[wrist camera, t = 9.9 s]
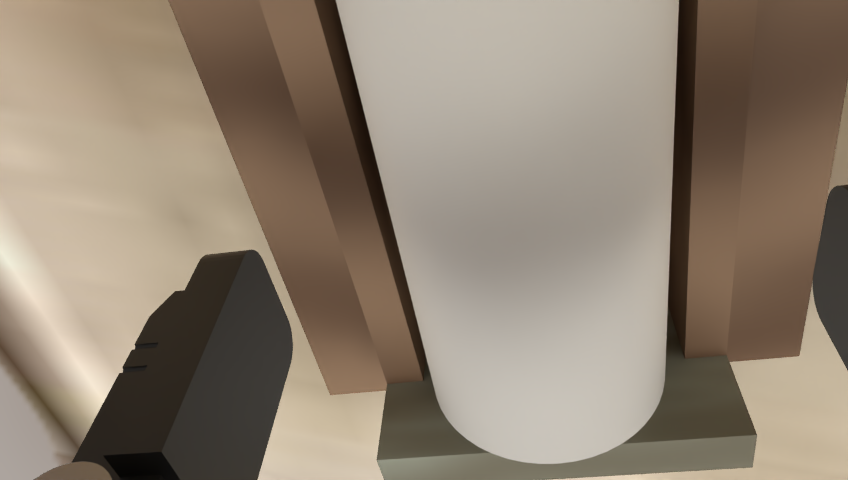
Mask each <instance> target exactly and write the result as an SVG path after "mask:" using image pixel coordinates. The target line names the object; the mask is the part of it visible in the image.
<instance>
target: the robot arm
mask: <svg viewBox="0 0 848 480" xmlns="http://www.w3.org/2000/svg"><path fill="white" fill-rule="evenodd" d="M813 295H814V301H815V305H816V309H817V312H818V315H819V317H820V319H821V321H822V323H823V325H824V327H825V329H826V331H827V333H828V335H829V336H830V338H831V340H832V342H833V344H834V346H835V348H836V349H837V351H838V353H839V355H840V357H841V359H842V361H843V362H844V364H845V366H846V368H847V370H848V185H842V186H836V187H834V188H833V189H832V190H831V192H830V194H829V196H828V199H827V204H826V209H825V214H824V219H823V225H822V230H821V235H820V241H819V246H818V251H817V256H816V262H815V267H814V272H813ZM292 351H293V342H292V332H291V327H290V324H289V321H288V318H287V316H286V314H285V311H284V309H283V306H282V304H281V302H280V299H279V297H278V295H277V292H276V290H275V287H274V285H273V283H272V280H271V278H270V276H269V273H268V271H267V269H266V266H265V264H264V262H263V259H262V258H261V256H260V255H259V253H258V252H256V251H255V250H246V251H237V252H228V253H219V254H210V255H205V256H203V257H202V258H201V259H200V261H199V263H198V265H197V267H196V269H195V271H194V273H193V275H192V277H191V279H190V281H189V283H188V285H187V287H186V289H185V290H184V291H175V292H174V293H173V294H172V295H171V296H170V297H169V298H168V299H167V300H166V301H165V302H164V303H163V304H162V305H161V306H160V307H159V308H158V309H157V310H156V311H155V312H154V313H153V314H152V315H151V316H150V317H149V319H148V321H147V322H146V324H145V326H144V328H143V330H142V332H141V334H140V336H139V337H138V339H137V341H136V343H135V350H132V351H131V352H130V354H129V356H128V358H127V360H126V362H125V364H124V366H123V373H119V375H118V377H117V379H116V381H115V382H114V384H113V386H112V388H111V390H110V392H109V394H108V396H107V397H106V399H105V401H104V403H103V405H102V407H101V409H100V411H99V412H98V414H97V416H96V418H95V420H94V422H93V424H92V426H91V427H90V429H89V431H88V433H87V435H86V437H85V439H84V441H83V442H82V444H81V446H80V448H79V450H78V452H77V454H76V456H75V458H74V459H73V461H72V463H68V464H64V465H61V466H59V467H56V468H53V469H51V470H49V471H47V472H46V473H43V474H42V475H40V476H39V477H37V478H35V479H34V480H257V479H258V475H259V472H260V468H261V465H262V462H263V458H264V455H265V451H266V448H267V444H268V441H269V437H270V434H271V430H272V427H273V423H274V420H275V416H276V413H277V409H278V406H279V402H280V399H281V395H282V392H283V388H284V385H285V381H286V378H287V374H288V371H289V367H290V364H291V359H292Z"/></svg>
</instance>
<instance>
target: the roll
mask: <svg viewBox="0 0 848 480" xmlns="http://www.w3.org/2000/svg"><path fill="white" fill-rule="evenodd" d="M336 4H337V8H338V12H339V16H340V20H341V23H342V27H343V31H344V35H345V39H346V43H347V47H348V51H349V55H350V59H351V63H352V67H353V71H354V75H355V79H356V83H357V87H358V90H359V94H360V98H361V102H362V106H363V110H364V114H365V118H366V122H367V126H368V130H369V134H370V138H371V142H372V146H373V150H374V153H375V157H376V161H377V165H378V169H379V173H380V177H381V181H382V185H383V189H384V193H385V197H386V201H387V205H388V209H389V213H390V217H391V220H392V224H393V228H394V232H395V236H396V240H397V244H398V248H399V252H400V256H401V260H402V264H403V268H404V272H405V276H406V280H407V283H408V287H409V291H410V295H411V299H412V303H413V307H414V311H415V315H416V319H417V323H418V327H419V331H420V335H421V339H422V343H423V347H424V350H425V354H426V358H427V362H428V366H429V370H430V374H431V378H432V382H433V386H434V390H435V394H436V398H437V401H438V403H439V406H440V408H441V410H442V412H443V413H444V415H445V417H446V418H447V420H448V421H449V422H450V424H451V425H452V426H453V427H454V428H455V429H456V430H457V431H458V432H459V433H460V434H461V435H462V436H463V437H465V438H466V439H467V440H469V441H470V442H472V443H473V444H475V445H476V446H478V447H479V448H482V449H484V450H486V451H488V452H490V453H492V454H495V455H498V456H501V457H503V458H506V459H510V460H515V461H520V462H526V463H536V464H559V463H567V462H575V461H579V460H583V459H587V458H591V457H594V456H597V455H599V454H602V453H605V452H607V451H609V450H611V449H613V448H615V447H617V446H619V445H621V444H622V443H624V442H625V441H626V440H628V439H629V438H631V437H632V436H634V435H635V434H636V433H637V432H638V431H639V430H640V429H641V428H642V427H643V426H644V425H645V424H646V423H647V421H648V420H649V419H650V418H651V416H652V415H653V413H654V412H655V410H656V408H657V406H658V404H659V402H660V399H661V396H662V393H663V389H664V383H665V366H666V339H667V312H668V284H669V257H670V230H671V203H672V176H673V148H674V121H675V94H676V67H677V39H678V12H679V0H336Z"/></svg>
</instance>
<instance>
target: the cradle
mask: <svg viewBox="0 0 848 480" xmlns="http://www.w3.org/2000/svg"><path fill="white" fill-rule="evenodd" d="M168 1H169V3H170V5H171V8H172V10H173V13H174V15H175V18H176V20H177V23H178V25H179V27H180V30H181V32H182V35H183V37H184V40H185V42H186V44H187V47H188V49H189V52H190V54H191V57H192V59H193V62H194V64H195V66H196V69H197V71H198V74H199V76H200V79H201V81H202V83H203V86H204V88H205V91H206V93H207V96H208V98H209V101H210V103H211V105H212V108H213V110H214V113H215V115H216V118H217V120H218V122H219V125H220V127H221V130H222V132H223V135H224V137H225V139H226V142H227V144H228V147H229V149H230V152H231V154H232V157H233V159H234V161H235V164H236V166H237V169H238V171H239V174H240V176H241V178H242V181H243V183H244V186H245V188H246V191H247V193H248V196H249V198H250V200H251V203H252V205H253V208H254V210H255V213H256V215H257V217H258V220H259V222H260V225H261V227H262V230H263V232H264V235H265V237H266V239H267V242H268V244H269V247H270V249H271V252H272V254H273V256H274V259H275V261H276V264H277V266H278V269H279V271H280V274H281V276H282V278H283V281H284V283H285V286H286V288H287V291H288V293H289V295H290V298H291V300H292V303H293V305H294V308H295V310H296V313H297V315H298V317H299V320H300V322H301V325H302V327H303V330H304V332H305V334H306V337H307V339H308V342H309V344H310V347H311V349H312V351H313V354H314V356H315V359H316V361H317V364H318V366H319V369H320V371H321V373H322V376H323V378H324V381H325V383H326V386H327V388H328V390H329V393H330V395H336V394H348V393H360V392H372V391H384V390H386V396H385V403H384V410H383V418H382V425H381V433H380V440H379V447H378V455H377V462H378V465H379V467H380V470H381V473H382V475H383V478H384V480H547V479H564V478H581V477H598V476H615V475H632V474H649V473H665V472H682V471H699V470H716V469H733V468H750V467H753V460H754V453H755V446H756V438H757V434H756V431H755V429H754V426H753V423H752V421H751V418H750V415H749V413H748V410H747V407H746V405H745V402H744V400H743V397H742V394H741V392H740V389H739V386H738V384H737V381H736V379H735V376H734V373H733V371H732V368H731V365H730V363H729V362H733V361H745V360H757V359H769V358H781V357H794V356H799V354H800V349H801V343H802V337H803V332H804V326H805V320H806V314H807V309H808V303H809V297H810V292H811V286H812V280H813V272H814V267H815V262H816V256H817V251H818V246H819V240H820V234H821V229H822V223H823V217H824V212H825V206H826V200H827V194H828V189H829V183H830V177H831V172H832V166H833V160H834V154H835V149H836V143H837V137H838V132H839V126H840V120H841V114H842V109H843V103H844V97H845V92H846V86H847V80H848V0H679V12H678V39H677V67H676V94H675V121H674V148H673V176H672V203H671V230H670V257H669V284H668V312H667V339H666V366H665V383H664V389H663V393H662V396H661V399H660V402H659V404H658V406H657V408H656V410H655V412H654V413H653V415H652V416H651V418H650V419H649V420H648V421H647V423H646V424H645V425H644V426H643V427H642V428H641V429H640V430H639V431H638V432H637V433H636V434H635V435H634V436H632V437H631V438H629V439H628V440H626V441H625V442H624V443H622V444H621V445H619V446H617V447H615V448H613V449H611V450H609V451H607V452H605V453H602V454H599V455H597V456H594V457H591V458H587V459H583V460H579V461H575V462H567V463H559V464H536V463H526V462H520V461H515V460H510V459H506V458H503V457H501V456H498V455H495V454H492V453H490V452H488V451H486V450H484V449H482V448H479V447H478V446H476V445H475V444H473V443H472V442H470V441H469V440H467V439H466V438H465V437H463V436H462V435H461V434H460V433H459V432H458V431H457V430H456V429H455V428H454V427H453V426H452V425H451V424H450V422H449V421H448V420H447V418H446V417H445V415H444V413H443V412H442V410H441V408H440V406H439V403H438V401H437V398H436V394H435V390H434V386H433V382H432V378H431V374H430V370H429V366H428V362H427V358H426V354H425V350H424V347H423V343H422V339H421V335H420V331H419V327H418V323H417V319H416V315H415V311H414V307H413V303H412V299H411V295H410V291H409V287H408V283H407V280H406V276H405V272H404V268H403V264H402V260H401V256H400V252H399V248H398V244H397V240H396V236H395V232H394V228H393V224H392V220H391V217H390V213H389V209H388V205H387V201H386V197H385V193H384V189H383V185H382V181H381V177H380V173H379V169H378V165H377V161H376V157H375V153H374V150H373V146H372V142H371V138H370V134H369V130H368V126H367V122H366V118H365V114H364V110H363V106H362V102H361V98H360V94H359V90H358V87H357V83H356V79H355V75H354V71H353V67H352V63H351V59H350V55H349V51H348V47H347V43H346V39H345V35H344V31H343V27H342V23H341V20H340V16H339V12H338V8H337V4H336V0H168Z"/></svg>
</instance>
